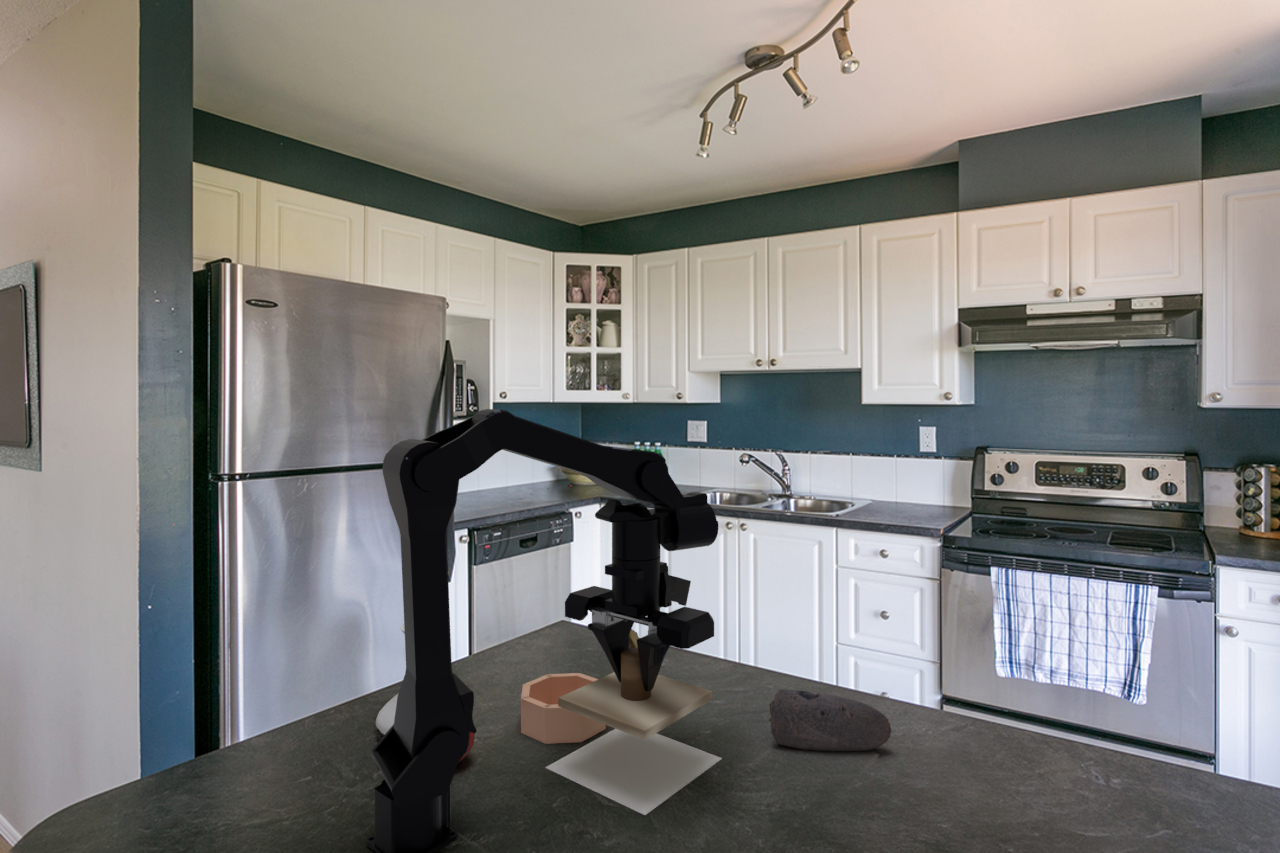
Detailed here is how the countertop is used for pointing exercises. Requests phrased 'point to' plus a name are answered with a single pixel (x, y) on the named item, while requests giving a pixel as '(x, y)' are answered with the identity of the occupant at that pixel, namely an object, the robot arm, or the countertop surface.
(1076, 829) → the countertop surface
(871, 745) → the perforated stone tool
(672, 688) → the board
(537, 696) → the octagonal clay planter
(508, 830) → the countertop surface
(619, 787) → the mat
